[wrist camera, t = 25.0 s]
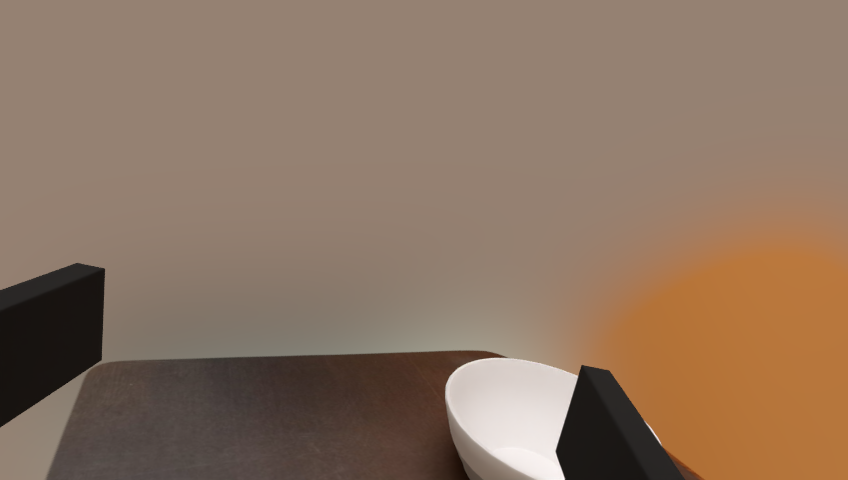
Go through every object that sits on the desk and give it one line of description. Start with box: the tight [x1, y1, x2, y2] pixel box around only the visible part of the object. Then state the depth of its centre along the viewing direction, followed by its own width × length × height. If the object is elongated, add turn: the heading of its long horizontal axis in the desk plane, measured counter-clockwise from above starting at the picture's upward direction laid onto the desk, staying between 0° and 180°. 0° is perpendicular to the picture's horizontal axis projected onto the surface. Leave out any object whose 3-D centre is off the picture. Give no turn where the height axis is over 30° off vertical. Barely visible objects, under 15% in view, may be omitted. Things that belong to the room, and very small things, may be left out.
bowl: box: [445, 358, 662, 480], centre depth 43 cm, size 20×19×8 cm
